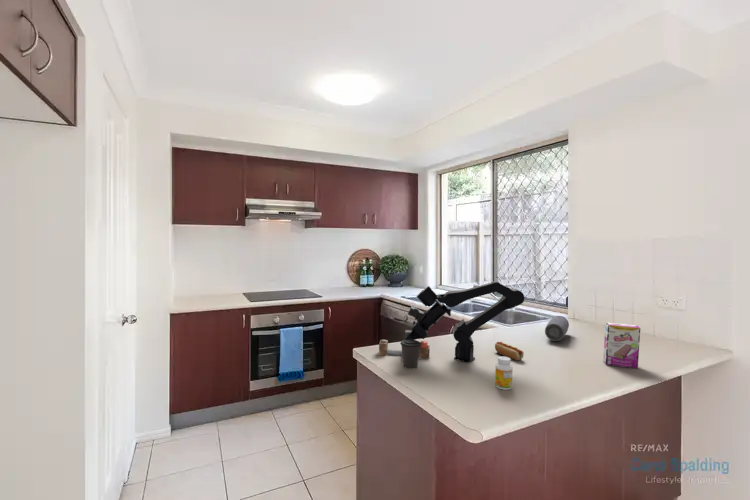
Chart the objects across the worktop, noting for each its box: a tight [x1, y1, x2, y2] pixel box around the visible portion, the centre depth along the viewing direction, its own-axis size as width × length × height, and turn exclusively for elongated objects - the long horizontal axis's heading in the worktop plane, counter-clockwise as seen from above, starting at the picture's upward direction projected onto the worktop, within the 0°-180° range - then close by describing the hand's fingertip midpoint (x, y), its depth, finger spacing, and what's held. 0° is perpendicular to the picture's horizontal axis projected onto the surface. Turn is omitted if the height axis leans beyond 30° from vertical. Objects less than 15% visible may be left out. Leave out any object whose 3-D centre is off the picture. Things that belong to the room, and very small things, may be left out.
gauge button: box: [420, 340, 429, 349], centre depth 153 cm, size 3×3×4 cm
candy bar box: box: [602, 321, 641, 369], centre depth 146 cm, size 11×5×16 cm, turn 71°
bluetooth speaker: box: [544, 315, 570, 342], centre depth 185 cm, size 23×9×10 cm, turn 147°
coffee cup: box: [399, 339, 421, 370], centre depth 140 cm, size 8×8×10 cm
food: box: [494, 341, 525, 361], centre depth 155 cm, size 14×6×5 cm, turn 24°
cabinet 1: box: [378, 339, 389, 357], centre depth 155 cm, size 3×5×6 cm, turn 171°
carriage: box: [404, 329, 412, 340], centre depth 153 cm, size 5×6×10 cm
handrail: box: [387, 349, 402, 356], centre depth 154 cm, size 13×2×2 cm, turn 81°
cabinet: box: [418, 344, 431, 359], centre depth 153 cm, size 5×5×4 cm
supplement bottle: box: [494, 355, 513, 391], centre depth 123 cm, size 5×5×10 cm
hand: (406, 339), depth 154 cm, fingers closed on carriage, 3 cm apart
